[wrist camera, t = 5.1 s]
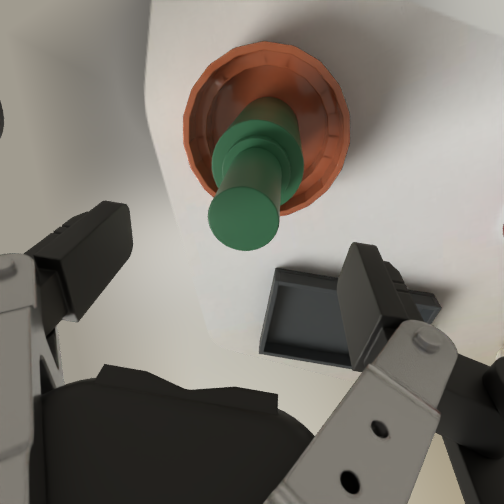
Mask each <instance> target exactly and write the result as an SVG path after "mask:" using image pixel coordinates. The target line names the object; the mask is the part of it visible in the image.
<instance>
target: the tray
mask: <svg viewBox="0 0 504 504" xmlns="http://www.w3.org/2000/svg"><path fill="white" fill-rule="evenodd" d="M337 283H338V278H333V277H327V276H321V275H315V274H309V273H303V272H296V271H290V270H284V269H278V268H275V273H274V278H273V282H272V287H271V292H270V296H269V301H268V305H267V310H266V315H265V319H264V324H263V329H262V333H261V338H260V345H259V354H264V355H270V356H276V357H282V358H288V359H294V360H300V361H306V362H312V363H318V364H324V365H330V366H336V367H342V368H348V369H352V365H351V360H350V355H349V350H348V345H347V340H346V335H345V330H344V325H343V320H342V315H341V310H340V305H339V300H338V295H337ZM409 293H410V294H411V296H412V298H413V300H414V302H415V304H416V306H417V308H418V310H419V312H420V314H421V316H422V318H423V320H424V322H425V323H428V324H430V325H431V323H432V322H433V320H434V319H435V317H436V316H437V314H438V313H439V311H440V310H441V308H442V307H441V306H440V304H439V302H438V301H437V299H436V298H435V296H434V294H430V293H424V292H418V291H412V290H409Z"/></svg>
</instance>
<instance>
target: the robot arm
mask: <svg viewBox="0 0 504 504" xmlns="http://www.w3.org/2000/svg"><path fill="white" fill-rule="evenodd" d="M132 248H133V238H132V229H131V220H130V211H129V208H128V206H127V205H126V204H123V203H116V202H111V201H102V202H101V203H99V204H98V205H97V206H96V207H94V208H93V209H92V210H90V211H89V212H85V213H82V214H80V215H77V216H74V217H72V218H71V219H70V220H68V221H67V222H66V223H64V224H63V225H62V227H59V228H58V229H56V230H55V231H54V233H51V234H50V235H48V236H47V237H46V238H44V239H43V240H41V241H40V242H39V243H37V244H36V245H35V246H33V247H32V248H31V249H30V250H28V251H27V252H25V253H24V254H16V253H12V254H11V253H10V254H2V255H0V504H407V503H408V500H409V498H410V495H411V493H412V490H413V488H414V485H415V483H416V480H417V477H418V475H419V472H420V470H421V467H422V465H423V462H424V459H425V457H426V454H427V452H428V449H429V447H430V444H431V441H432V439H433V436H434V434H435V433H437V434H439V435H442V438H443V440H444V444H445V446H446V449H447V452H448V455H449V458H450V461H451V463H452V467H453V470H454V473H455V475H456V478H457V481H458V484H459V487H460V490H461V493H462V496H463V499H464V501H465V504H504V356H503V357H500V358H498V359H497V360H496V361H495V362H494V363H493V364H492V365H491V367H490V366H487V365H485V364H482V363H480V362H478V361H475V360H473V359H470V358H468V357H465V356H463V355H460V354H458V353H457V349H456V347H455V345H454V343H453V342H452V341H451V339H450V338H449V337H448V336H447V335H446V334H445V333H443V332H442V331H441V330H439V329H438V328H436V327H434V326H432V325H430V324H428V323H425V322H424V320H423V318H422V316H421V314H420V312H419V310H418V308H417V306H416V304H415V302H414V300H413V298H412V296H411V294H410V293H409V290H408V288H407V286H406V285H405V284H404V283H405V282H404V280H403V278H402V276H401V274H400V272H399V271H398V270H397V269H396V268H395V267H393V266H392V265H391V264H390V263H389V262H386V261H383V259H382V257H381V255H380V253H379V251H378V248H377V247H376V246H375V245H369V244H363V243H357V242H353V243H352V244H351V246H350V248H349V251H348V254H347V256H346V259H345V262H344V264H343V267H342V270H341V273H340V275H339V278H338V283H337V295H338V300H339V305H340V310H341V315H342V320H343V325H344V330H345V335H346V340H347V345H348V350H349V355H350V360H351V365H352V370H353V371H358V372H362V373H361V375H360V376H359V378H358V379H357V380H356V382H355V383H354V384H353V386H352V387H351V388H350V390H349V391H348V392H347V394H346V395H345V396H344V398H343V399H342V401H341V402H340V403H339V405H338V406H337V407H336V409H335V410H334V411H333V413H332V414H331V416H330V417H329V418H328V419H327V421H326V422H325V424H324V425H323V426H322V428H321V429H320V430H319V432H318V433H317V435H316V436H314V435H313V434H312V433H311V432H310V431H309V430H308V429H307V428H306V427H305V426H304V425H303V424H301V423H300V422H299V421H298V420H296V419H295V418H294V417H292V416H290V415H289V414H287V413H286V412H284V411H282V410H280V409H278V408H277V407H278V394H274V393H269V392H263V391H257V390H251V389H245V388H240V387H224V388H211V389H197V390H187V389H184V388H182V387H179V386H177V385H175V384H173V383H171V382H169V381H166V380H164V379H162V378H160V377H158V376H156V375H153V374H151V373H149V372H147V371H141V370H136V369H130V368H124V367H118V366H113V365H107V364H104V366H103V367H102V369H101V371H100V372H99V374H98V376H97V377H96V378H90V379H85V380H80V381H76V382H73V383H69V384H66V385H65V384H64V379H63V370H62V362H61V353H60V344H59V335H58V330H57V327H56V325H57V324H58V323H59V322H60V321H61V320H66V321H72V322H79V320H80V319H81V318H82V317H83V315H84V314H85V313H86V312H87V310H88V309H89V308H90V306H91V305H92V304H93V303H94V301H95V300H96V299H97V298H98V296H99V295H100V294H101V293H102V291H103V290H104V289H105V287H106V286H107V285H108V284H109V283H110V281H111V280H112V279H113V278H114V276H115V275H116V274H117V272H118V271H119V270H120V269H121V267H122V266H123V265H124V264H125V262H126V261H127V260H128V259H129V257H130V255H131V252H132Z"/></svg>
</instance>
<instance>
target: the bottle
mask: <svg viewBox="0 0 504 504" xmlns="http://www.w3.org/2000/svg"><path fill="white" fill-rule="evenodd" d="M303 172H304V160H303V153H302V146H301V139H300V133H299V126H298V121H297V118H296V115H295V113H294V111H293V110H292V109H291V107H290V106H289V105H288V104H287V103H285V102H284V101H282V100H280V99H278V98H274V97H262V98H258V99H256V100H254V101H252V102H251V103H249V104H248V105H247V106H246V107H245V108H244V109H243V111H242V112H241V113H240V114H239V115H238V117H237V118H236V119H235V120H234V122H233V123H232V124H231V125H230V126H229V128H228V129H227V130H226V131H225V132H224V134H223V135H222V136H221V137H220V139H219V140H218V142H217V144H216V146H215V149H214V152H213V155H212V173H213V177H214V180H215V183H216V185H217V187H218V188H219V189H218V191H217V193H216V195H215V196H214V198H213V200H212V202H211V204H210V207H209V210H208V222H209V226H210V228H211V230H212V232H213V234H214V235H215V237H216V238H217V239H218V240H219V241H220V242H222V243H223V244H224V245H226V246H228V247H230V248H233V249H236V250H242V251H250V250H255V249H259V248H261V247H263V246H265V245H266V244H268V243H269V242H270V241H271V240H272V239H273V238H274V236H275V235H276V233H277V230H278V227H279V218H280V206H281V205H283V204H284V203H286V202H287V201H288V200H289V199H290V198H291V197H292V196H293V195H294V194H295V193H296V191H297V189H298V188H299V186H300V184H301V181H302V178H303Z"/></svg>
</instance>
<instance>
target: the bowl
mask: <svg viewBox="0 0 504 504" xmlns="http://www.w3.org/2000/svg"><path fill="white" fill-rule="evenodd" d="M262 97H274V98H278V99H280V100H282V101H284V102H285V103H287V104H288V105H289V106H290V107H291V109H292V110H293V111H294V113H295V115H296V118H297V121H298V126H299V133H300V139H301V146H302V153H303V160H304V172H303V178H302V181H301V184H300V186H299V188H298V189H297V191H296V193H295V194H294V195H293V196H292V197H291V198H290V199H289V200H288V201H287V202H286V203H284V204H283V205H281V206H280V216H284V215H289V214H291V213H293V212H296V211H298V210H300V209H303V208H305V207H307V206H309V205H310V204H312V203H313V202H314V201H315V200H316V199H318V198H319V197H320V196H321V195H322V194H324V193H325V192H326V191H327V190H328V189H329V188H330V186H331V185H332V183H333V182H334V180H335V179H336V177H337V176H338V174H339V172H340V171H341V169H342V167H343V164H344V161H345V157H346V154H347V151H348V147H349V144H350V114H349V110H348V107H347V105H346V102H345V99H344V96H343V93H342V90H341V87H340V86H339V84H338V82H337V81H336V80H335V79H334V77H333V76H332V75H331V74H330V72H329V71H328V70H327V69H326V67H325V66H324V65H323V64H322V62H320V61H319V60H318V59H316V58H314V57H313V56H311V55H309V54H307V53H306V52H304V51H302V50H301V49H299V48H297V47H296V46H293V45H287V44H280V43H274V42H267V41H261V42H257V43H253V44H248V45H244V46H240V47H235V48H233V49H232V50H230V51H229V52H227V53H226V54H224V55H223V56H221V57H220V58H218V59H217V60H215V61H214V62H212V63H211V64H210V65H209V66H208V67H207V68H206V70H205V71H204V72H203V74H202V75H201V77H200V78H199V79H198V81H197V82H196V84H195V85H194V86H193V88H192V90H191V93H190V96H189V99H188V102H187V105H186V109H185V112H184V115H183V144H184V148H185V151H186V154H187V158H188V161H189V165H190V168H191V170H192V171H193V173H194V174H195V176H196V177H197V179H198V180H199V182H200V184H201V185H202V187H203V188H204V189H205V190H206V191H207V192H208V193H209V194H210V195H211V196H213V197H214V196H215V195H216V193H217V191H218V189H219V188H218V187H217V185H216V183H215V180H214V177H213V173H212V155H213V152H214V149H215V146H216V144H217V142H218V140H219V139H220V137H221V136H222V135H223V134H224V132H225V131H226V130H227V129H228V128H229V126H230V125H231V124H232V123H233V122H234V120H235V119H236V118H237V117H238V115H239V114H240V113H241V112H242V111H243V109H244V108H245V107H246V106H247V105H248V104H249V103H251V102H252V101H254V100H256V99H258V98H262Z"/></svg>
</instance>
